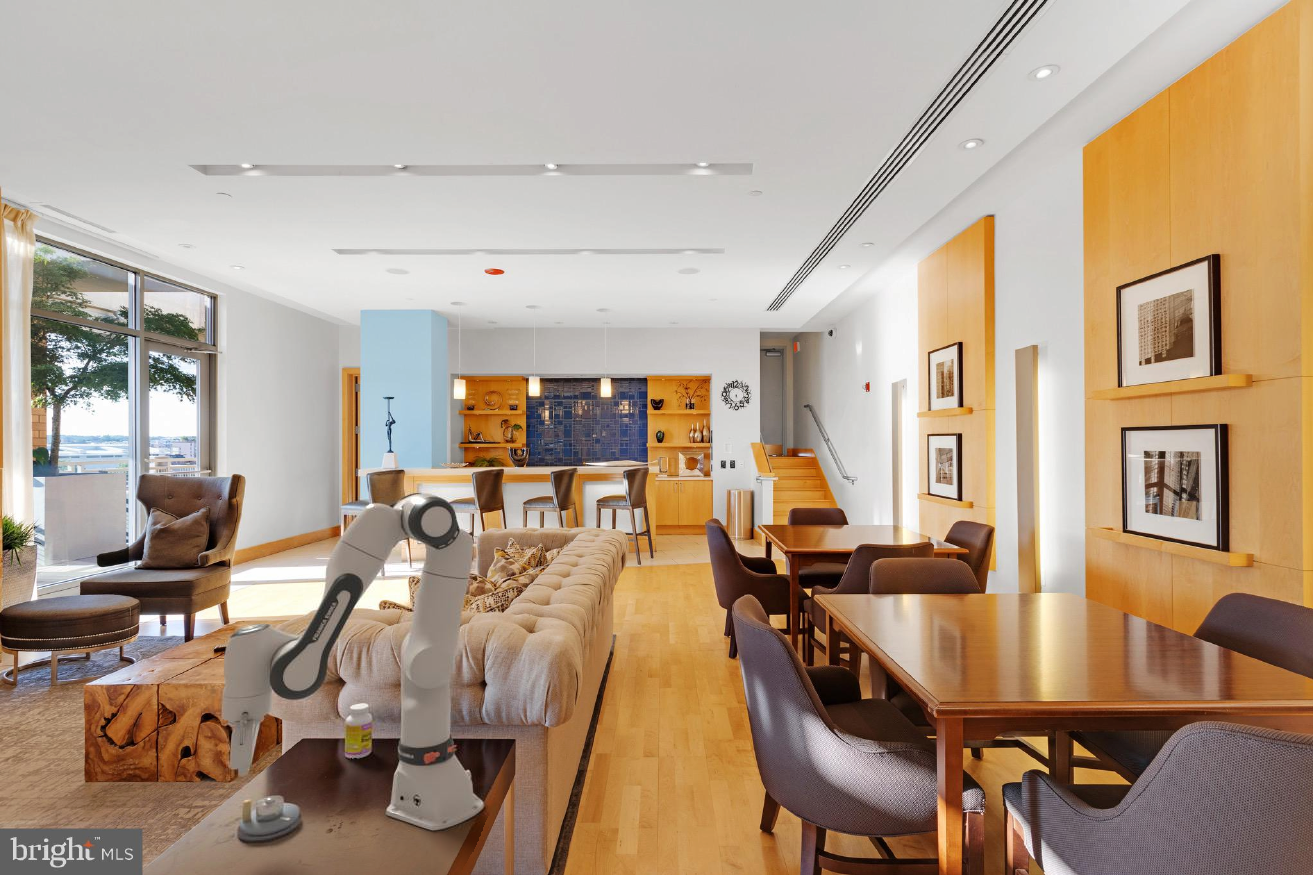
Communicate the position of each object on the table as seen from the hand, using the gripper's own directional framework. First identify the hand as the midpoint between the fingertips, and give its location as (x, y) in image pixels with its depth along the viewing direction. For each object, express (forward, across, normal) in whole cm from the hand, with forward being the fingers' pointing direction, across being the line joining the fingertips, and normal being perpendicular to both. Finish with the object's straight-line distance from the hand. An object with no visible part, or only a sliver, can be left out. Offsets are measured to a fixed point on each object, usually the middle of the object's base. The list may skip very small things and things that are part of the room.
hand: (243, 773), depth 141 cm
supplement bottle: (+15, +38, -24) cm, 48 cm away
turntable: (+13, +6, -5) cm, 16 cm away
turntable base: (+15, +6, -5) cm, 17 cm away
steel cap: (+12, +6, -5) cm, 14 cm away
